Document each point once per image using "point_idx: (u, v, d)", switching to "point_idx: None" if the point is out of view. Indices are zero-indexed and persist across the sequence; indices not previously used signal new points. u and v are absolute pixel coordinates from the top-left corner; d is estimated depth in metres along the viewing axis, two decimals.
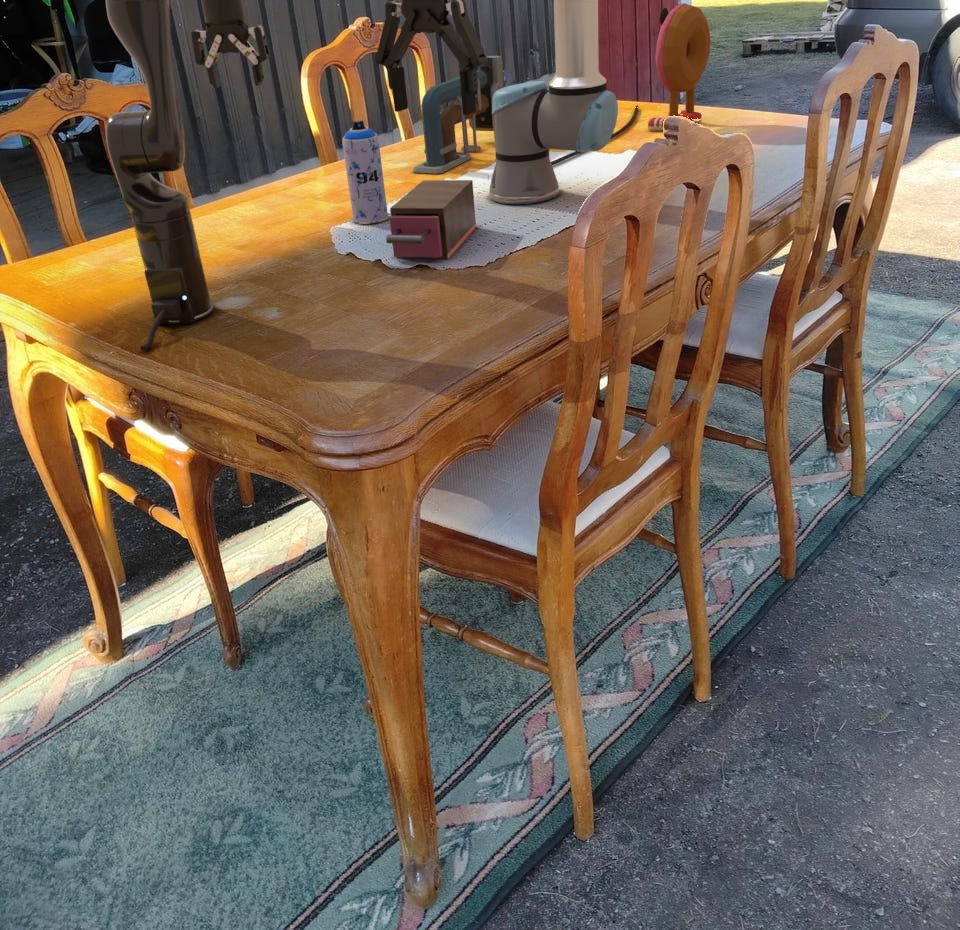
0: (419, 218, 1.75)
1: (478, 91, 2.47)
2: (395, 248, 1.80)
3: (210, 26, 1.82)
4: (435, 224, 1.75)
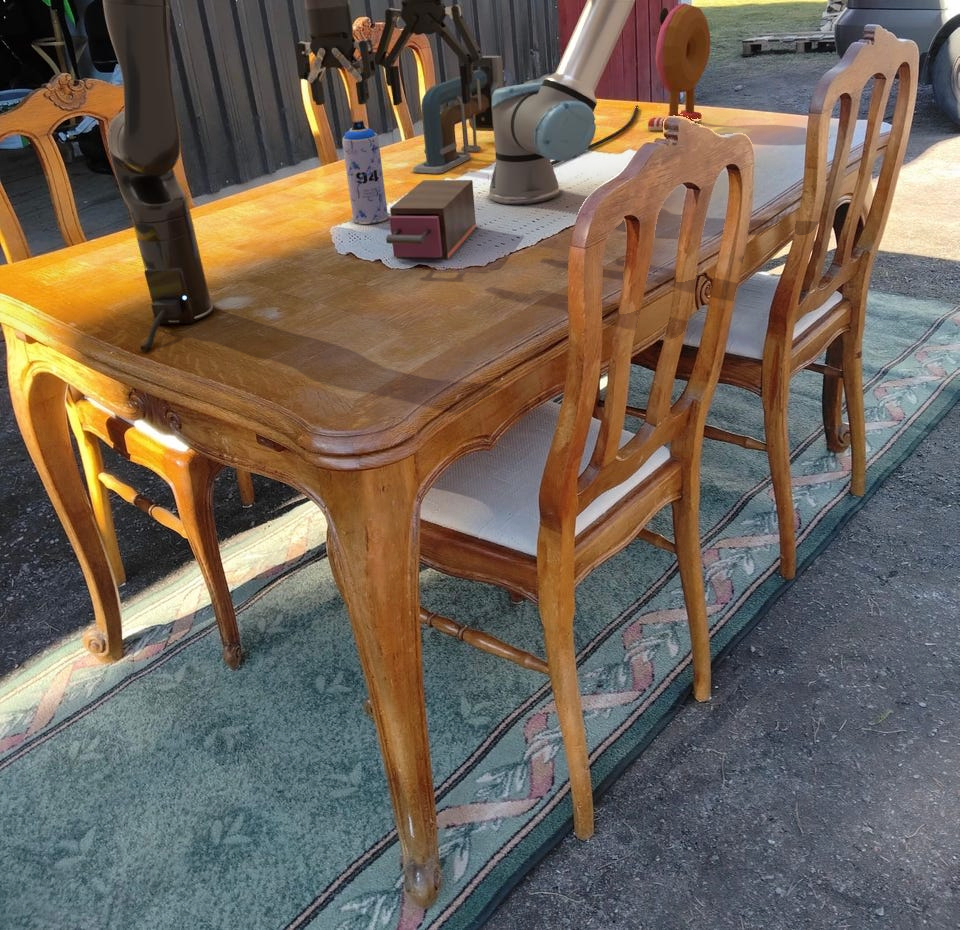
0: (419, 218, 1.75)
1: (478, 91, 2.47)
2: (395, 248, 1.80)
3: None
4: (435, 224, 1.75)
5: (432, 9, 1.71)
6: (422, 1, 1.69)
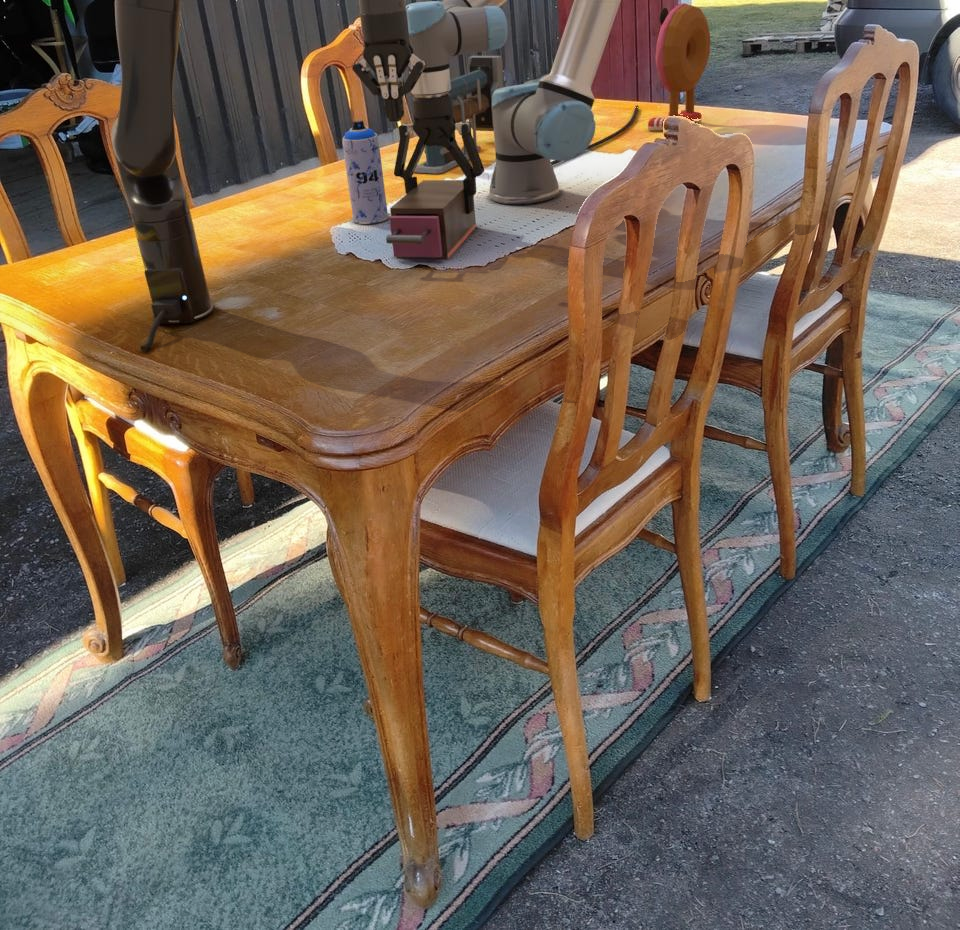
0: (419, 218, 1.75)
1: (478, 91, 2.47)
2: (395, 248, 1.80)
3: None
4: (435, 224, 1.75)
5: (442, 124, 1.81)
6: (433, 118, 1.79)
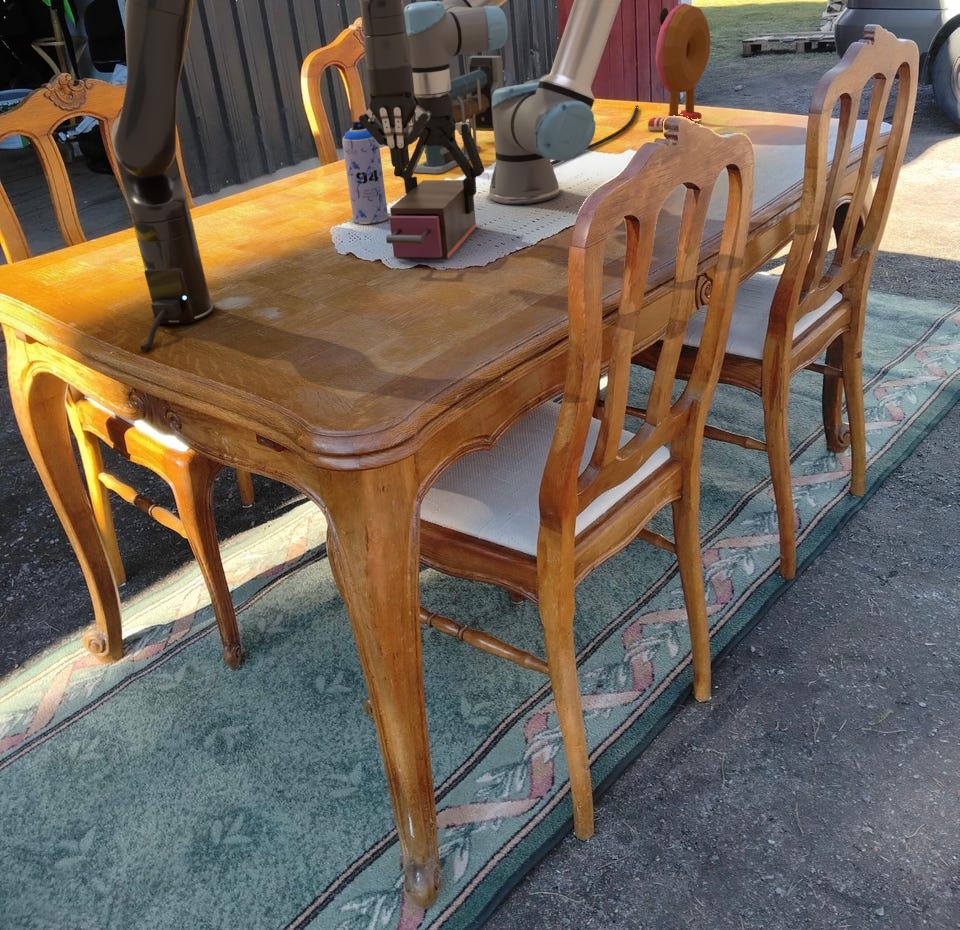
0: (419, 218, 1.75)
1: (478, 91, 2.47)
2: (395, 248, 1.80)
3: None
4: (435, 224, 1.75)
5: (442, 124, 1.81)
6: (433, 118, 1.79)
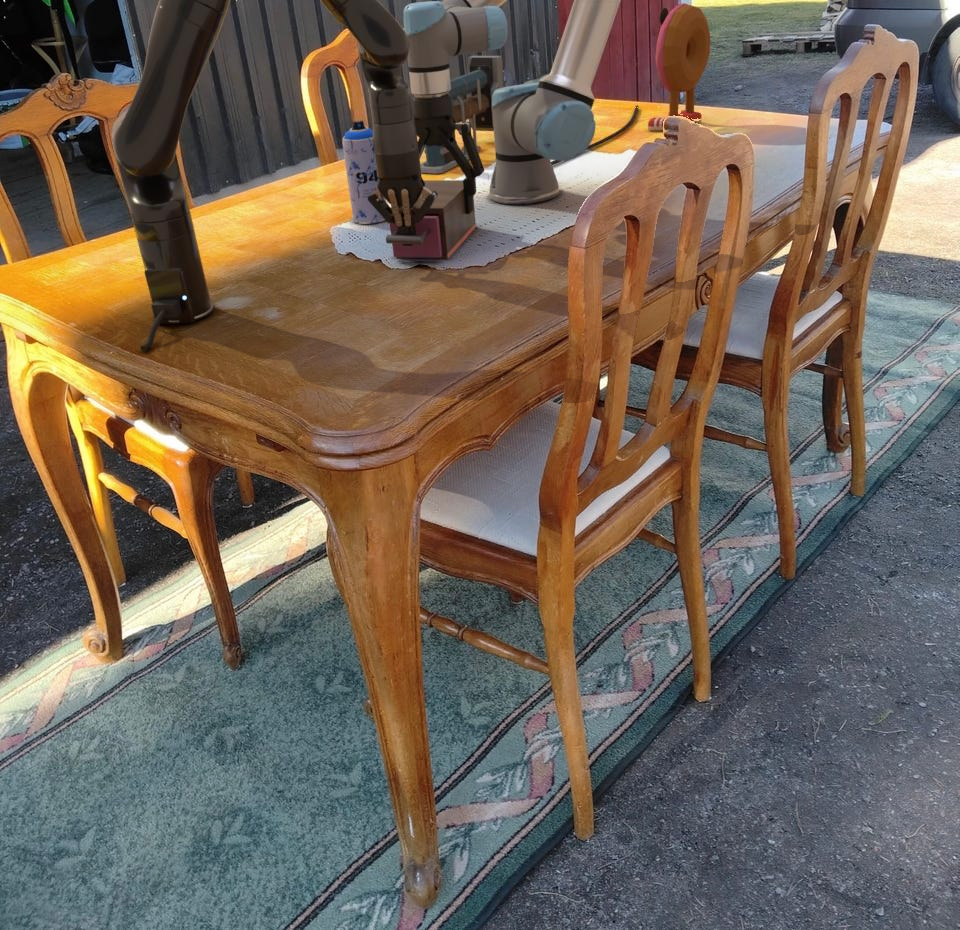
0: None
1: (478, 91, 2.47)
2: (395, 248, 1.79)
3: None
4: (435, 224, 1.75)
5: (442, 124, 1.81)
6: (433, 118, 1.79)
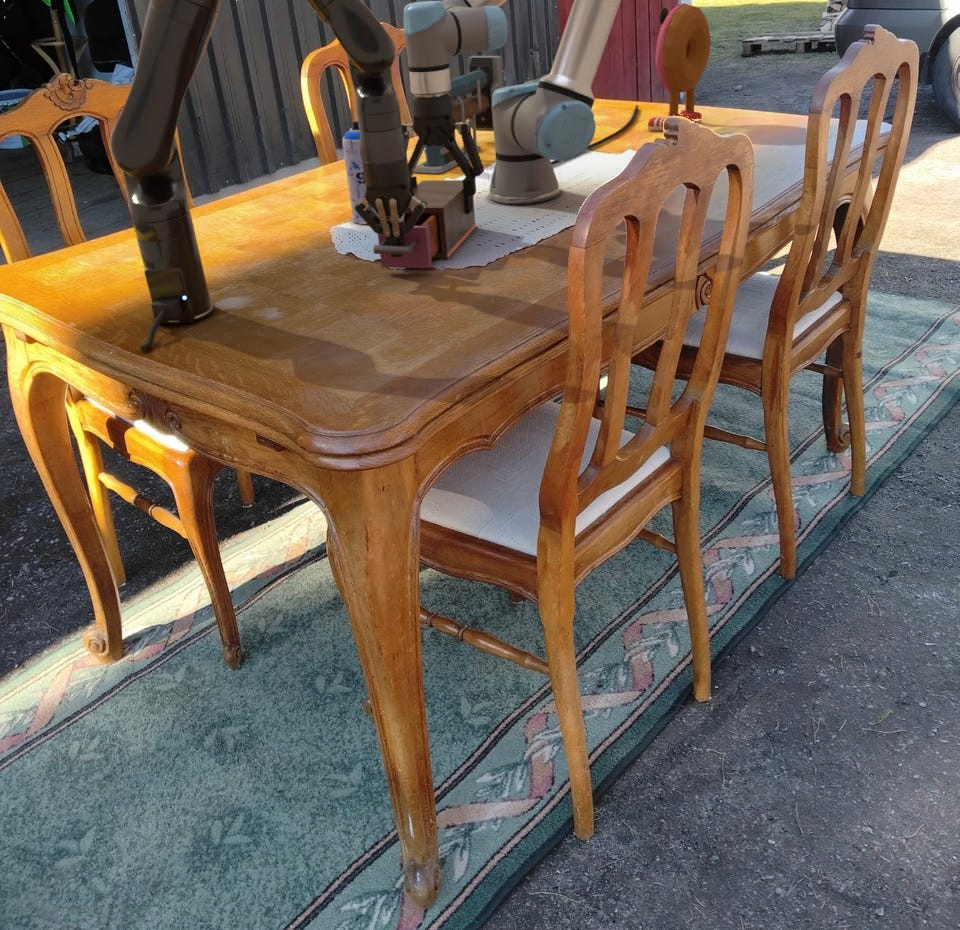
0: None
1: (478, 91, 2.47)
2: (383, 259, 1.74)
3: None
4: (424, 234, 1.70)
5: (442, 124, 1.81)
6: (433, 117, 1.79)
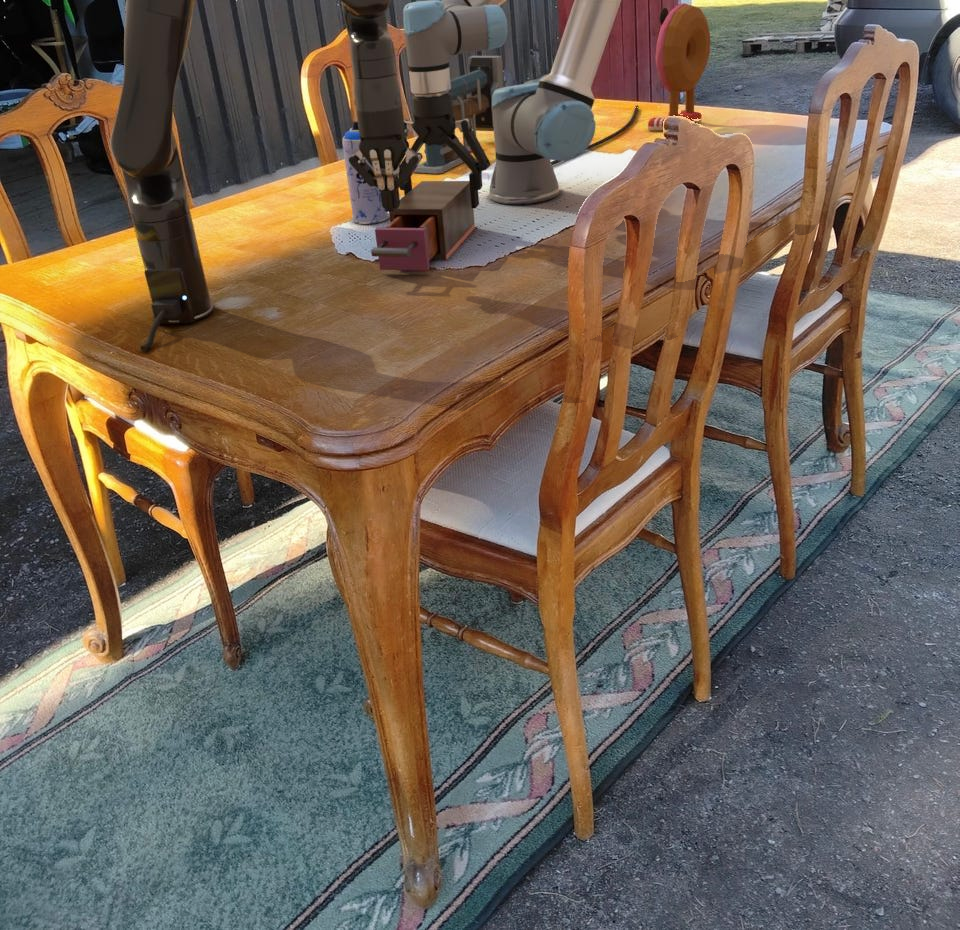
0: (405, 230, 1.69)
1: (478, 91, 2.47)
2: (381, 261, 1.74)
3: None
4: (422, 236, 1.69)
5: (442, 123, 1.81)
6: (433, 117, 1.79)
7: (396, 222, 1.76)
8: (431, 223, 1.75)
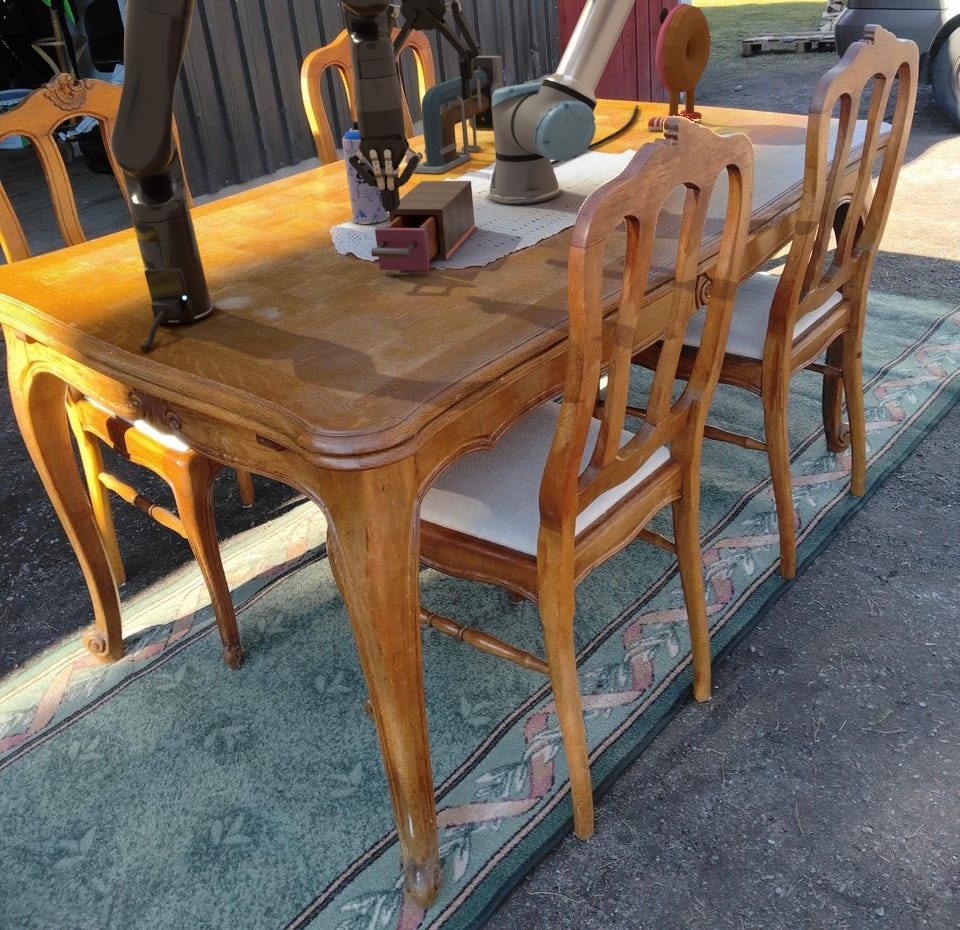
0: (405, 230, 1.69)
1: (478, 91, 2.47)
2: (381, 261, 1.74)
3: None
4: (422, 236, 1.69)
5: (431, 5, 1.71)
6: None
7: (396, 222, 1.76)
8: (431, 223, 1.75)
